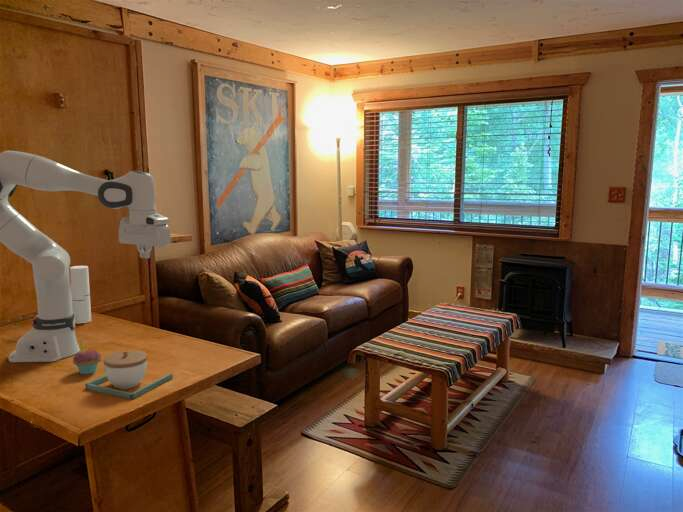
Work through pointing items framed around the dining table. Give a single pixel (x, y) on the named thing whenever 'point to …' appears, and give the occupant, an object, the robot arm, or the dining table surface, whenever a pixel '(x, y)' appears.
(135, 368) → the lidded bowl
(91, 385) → the teal u-shaped frame
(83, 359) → the cupcake
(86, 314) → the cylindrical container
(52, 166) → the robot arm
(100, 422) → the dining table surface
